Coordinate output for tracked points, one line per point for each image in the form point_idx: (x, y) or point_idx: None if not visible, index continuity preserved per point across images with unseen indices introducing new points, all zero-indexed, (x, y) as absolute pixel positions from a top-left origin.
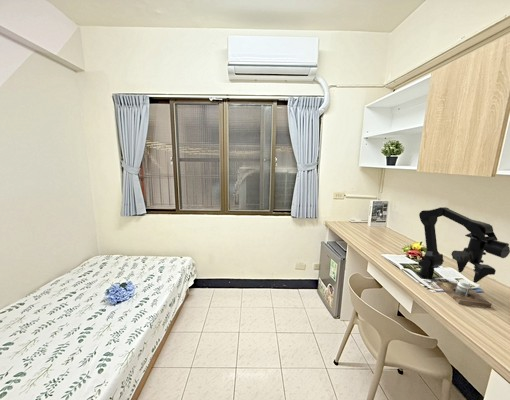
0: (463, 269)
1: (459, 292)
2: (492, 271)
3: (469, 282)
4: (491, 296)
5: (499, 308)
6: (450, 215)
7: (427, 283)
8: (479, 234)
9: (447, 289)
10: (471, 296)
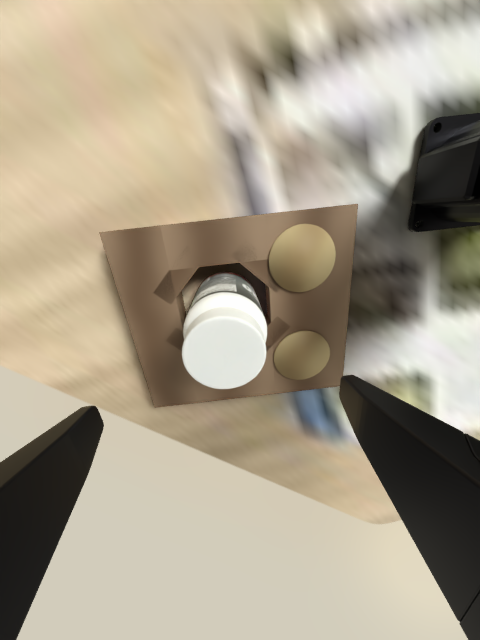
0: (363, 450)
1: (204, 286)
2: None
3: (223, 388)
4: (276, 446)
5: (175, 424)
6: None
7: (345, 122)
8: None
9: (236, 220)
10: None
